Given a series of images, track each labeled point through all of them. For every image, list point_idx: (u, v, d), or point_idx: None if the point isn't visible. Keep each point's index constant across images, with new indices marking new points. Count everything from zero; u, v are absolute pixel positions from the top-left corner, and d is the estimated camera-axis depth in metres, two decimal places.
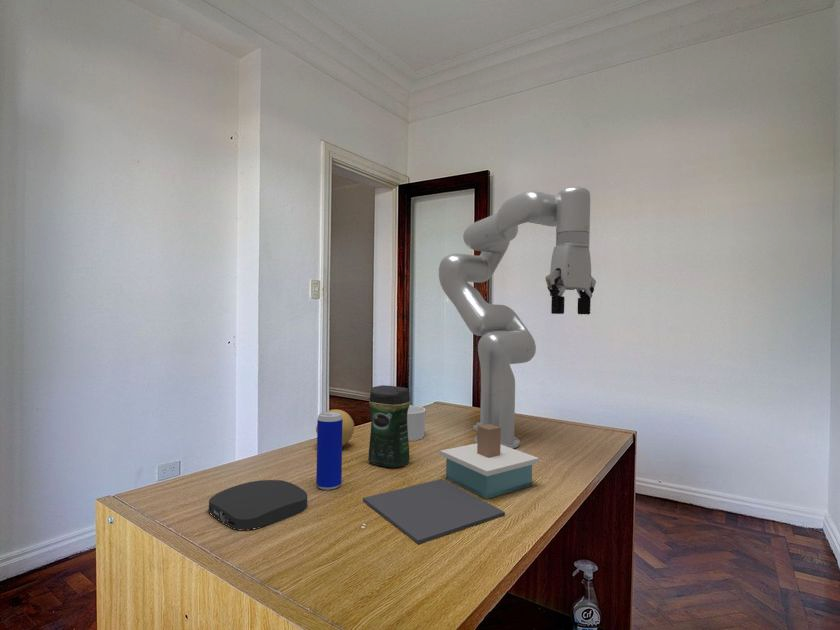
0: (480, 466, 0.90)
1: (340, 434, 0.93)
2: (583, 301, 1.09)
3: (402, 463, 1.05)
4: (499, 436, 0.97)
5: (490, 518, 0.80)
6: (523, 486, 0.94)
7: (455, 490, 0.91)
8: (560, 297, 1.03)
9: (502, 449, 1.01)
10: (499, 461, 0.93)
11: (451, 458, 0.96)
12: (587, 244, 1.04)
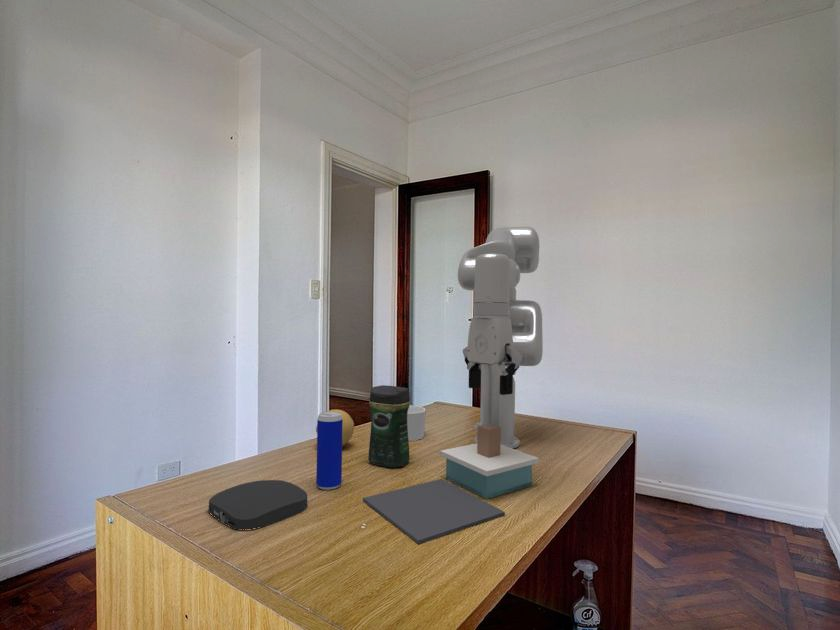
0: (480, 466, 0.90)
1: (340, 434, 0.93)
2: (476, 374, 1.01)
3: (402, 463, 1.05)
4: (499, 436, 0.97)
5: (490, 518, 0.80)
6: (523, 486, 0.94)
7: (455, 490, 0.91)
8: None
9: (502, 449, 1.01)
10: (499, 461, 0.93)
11: (451, 458, 0.96)
12: None
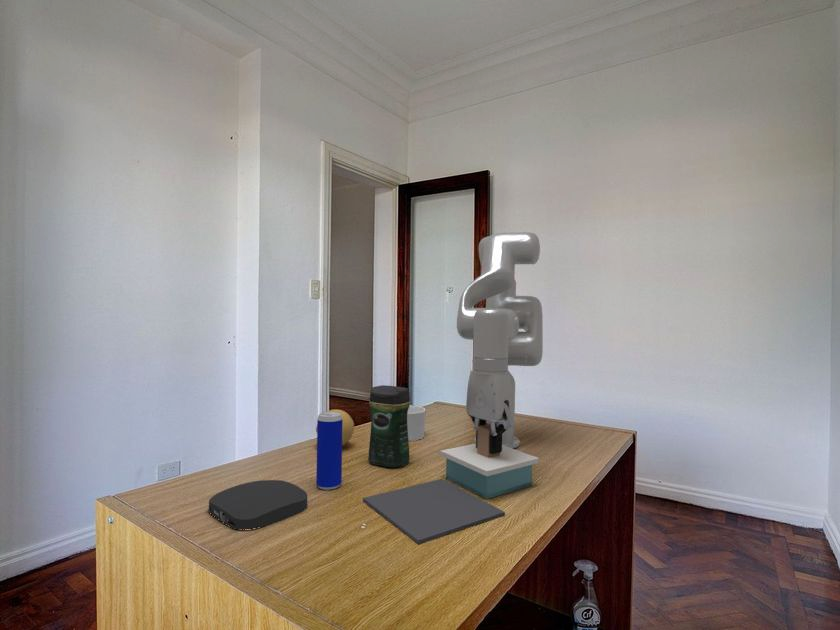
0: (480, 466, 0.90)
1: (340, 434, 0.93)
2: None
3: (402, 463, 1.05)
4: None
5: (490, 518, 0.80)
6: (523, 486, 0.94)
7: (455, 490, 0.91)
8: None
9: (502, 449, 1.01)
10: (499, 461, 0.93)
11: (451, 458, 0.96)
12: None
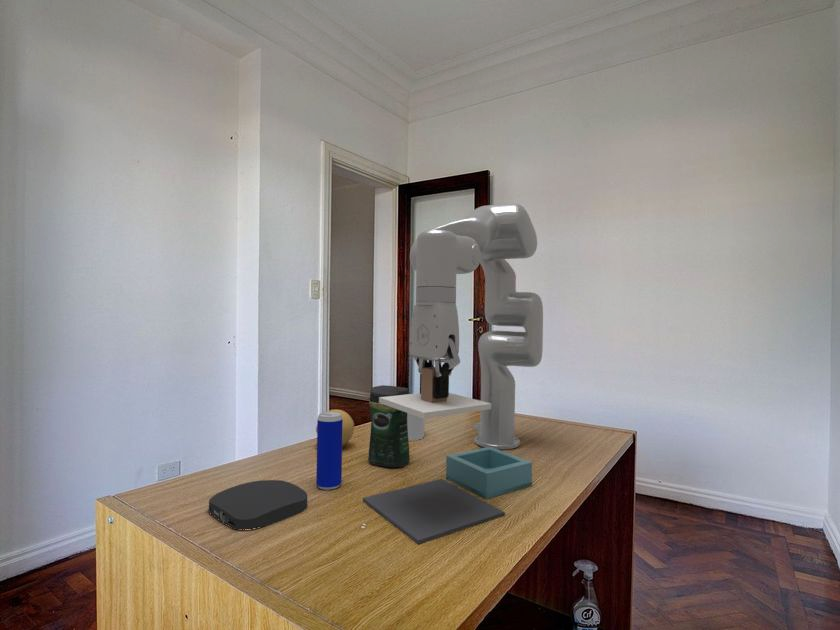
0: (418, 409, 0.76)
1: (340, 434, 0.93)
2: None
3: (402, 463, 1.05)
4: None
5: (490, 518, 0.80)
6: (523, 486, 0.94)
7: (455, 490, 0.91)
8: None
9: (452, 396, 0.88)
10: (443, 405, 0.79)
11: (389, 404, 0.83)
12: None
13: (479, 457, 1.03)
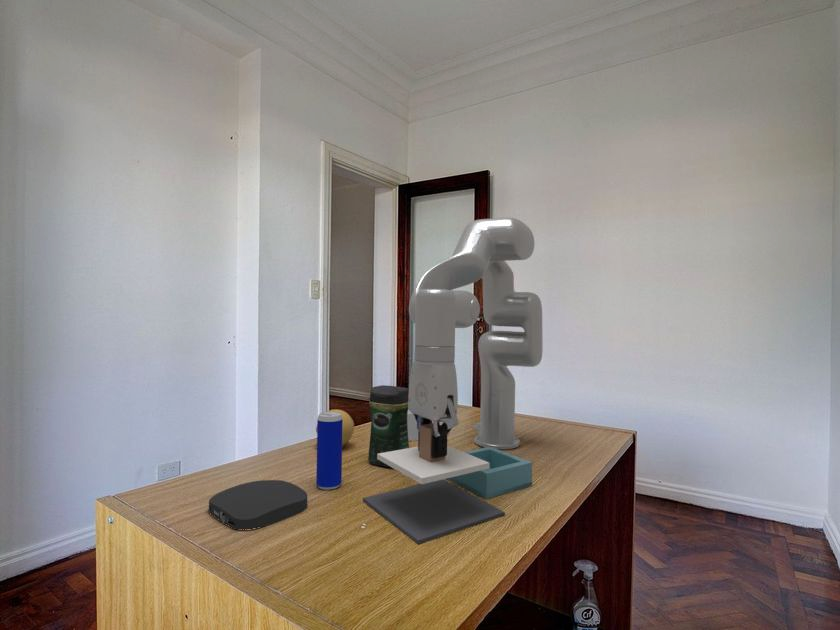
0: (416, 472, 0.76)
1: (340, 434, 0.93)
2: None
3: None
4: None
5: (490, 518, 0.80)
6: (523, 486, 0.94)
7: (455, 490, 0.91)
8: None
9: (451, 452, 0.88)
10: (441, 466, 0.79)
11: (387, 462, 0.82)
12: None
13: (479, 457, 1.03)
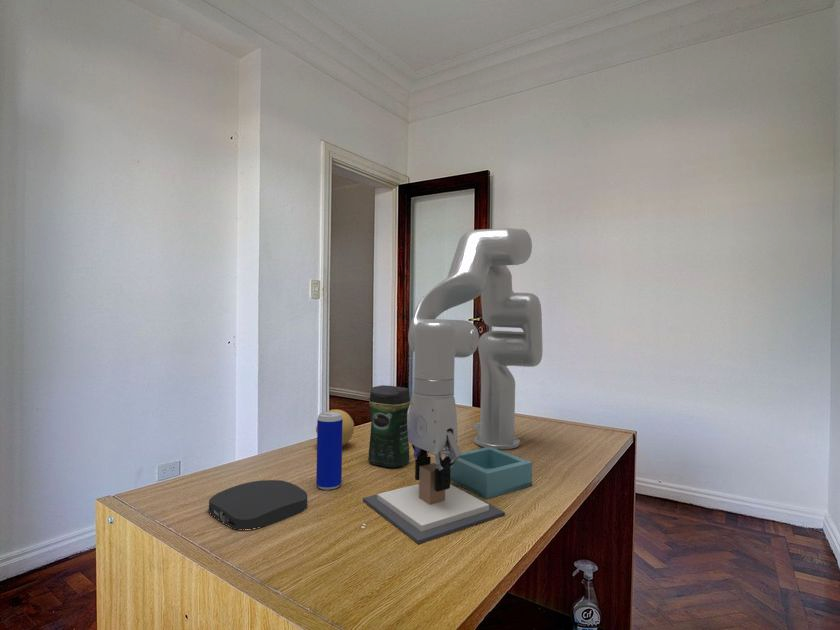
0: (416, 518, 0.76)
1: (340, 434, 0.93)
2: (424, 463, 0.86)
3: (402, 463, 1.05)
4: None
5: (490, 518, 0.80)
6: (523, 486, 0.94)
7: None
8: None
9: (450, 491, 0.88)
10: (441, 510, 0.80)
11: (387, 504, 0.83)
12: None
13: (479, 457, 1.03)
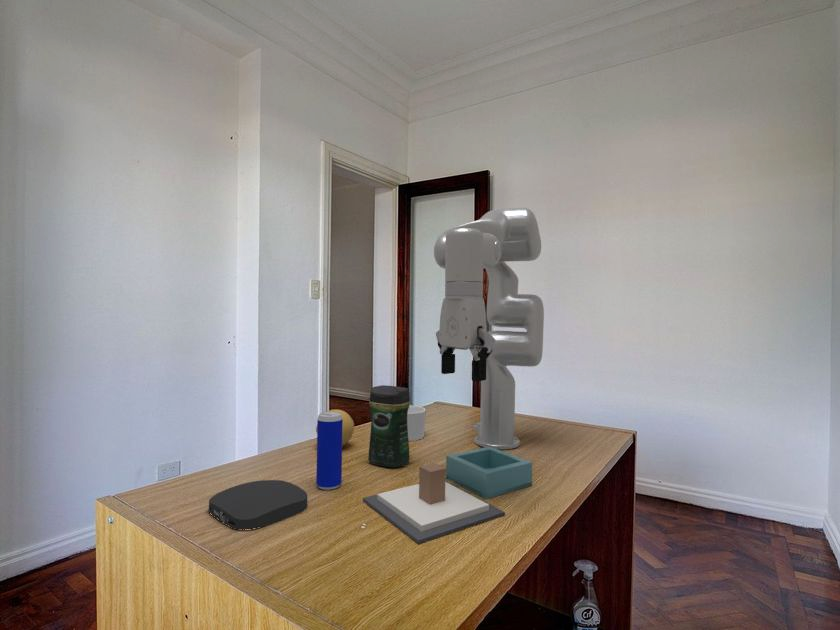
0: (416, 518, 0.76)
1: (340, 434, 0.93)
2: (450, 358, 0.94)
3: (402, 463, 1.05)
4: (444, 478, 0.83)
5: (490, 518, 0.80)
6: (523, 486, 0.94)
7: None
8: None
9: (450, 491, 0.88)
10: (441, 510, 0.80)
11: (387, 504, 0.83)
12: None
13: (479, 457, 1.03)
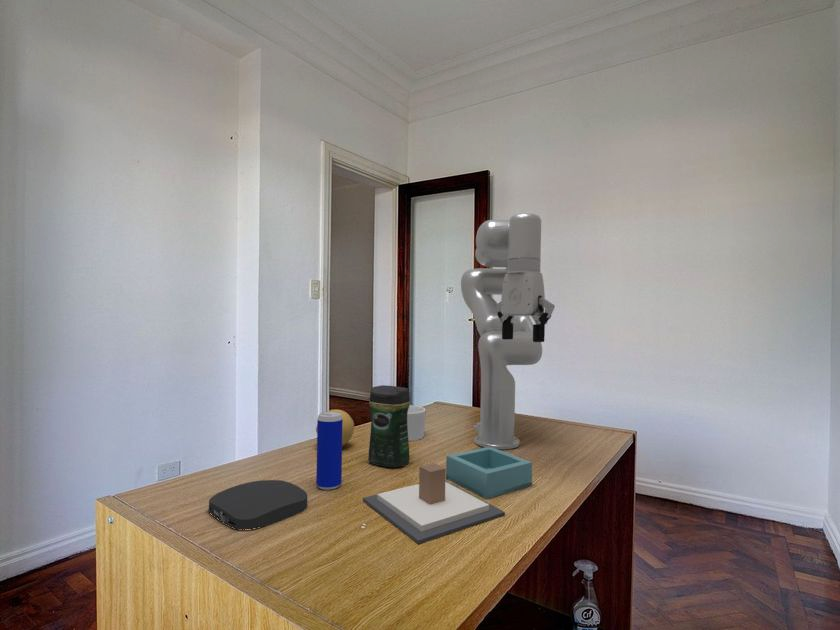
0: (416, 518, 0.76)
1: (340, 434, 0.93)
2: (509, 326, 1.09)
3: (402, 463, 1.05)
4: (444, 478, 0.83)
5: (490, 518, 0.80)
6: (523, 486, 0.94)
7: None
8: None
9: (450, 491, 0.88)
10: (441, 510, 0.80)
11: (387, 504, 0.83)
12: None
13: (479, 457, 1.03)
